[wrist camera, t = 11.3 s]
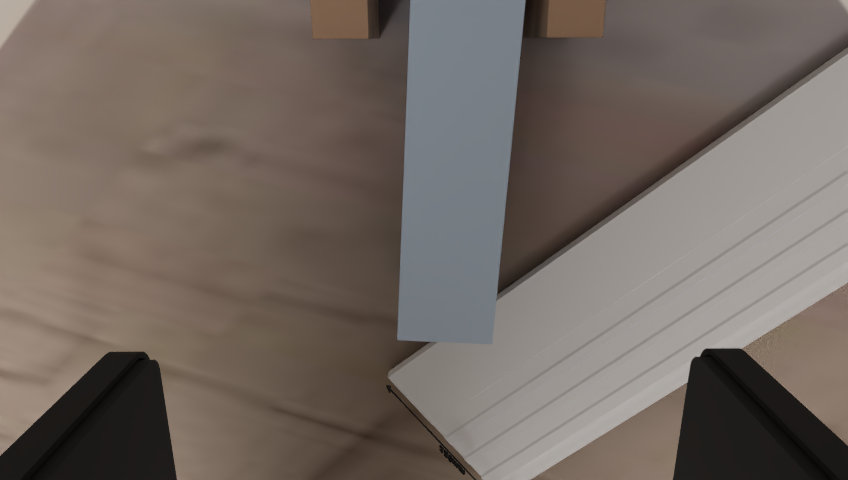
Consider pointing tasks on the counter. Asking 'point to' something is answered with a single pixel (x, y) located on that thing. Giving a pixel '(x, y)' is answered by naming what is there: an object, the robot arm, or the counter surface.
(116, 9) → the counter surface
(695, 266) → the baseboard molding
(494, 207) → the slate slat
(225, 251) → the counter surface
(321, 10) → the walnut end cap
